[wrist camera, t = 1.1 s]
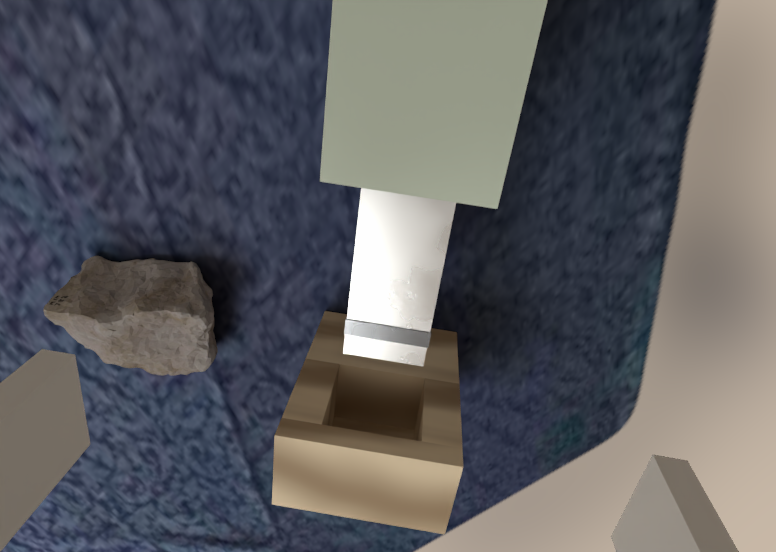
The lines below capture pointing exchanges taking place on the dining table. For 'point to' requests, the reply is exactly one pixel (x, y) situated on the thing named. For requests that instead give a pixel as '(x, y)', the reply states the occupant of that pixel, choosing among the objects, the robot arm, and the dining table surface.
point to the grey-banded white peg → (396, 275)
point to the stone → (140, 314)
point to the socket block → (372, 434)
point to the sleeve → (427, 95)
